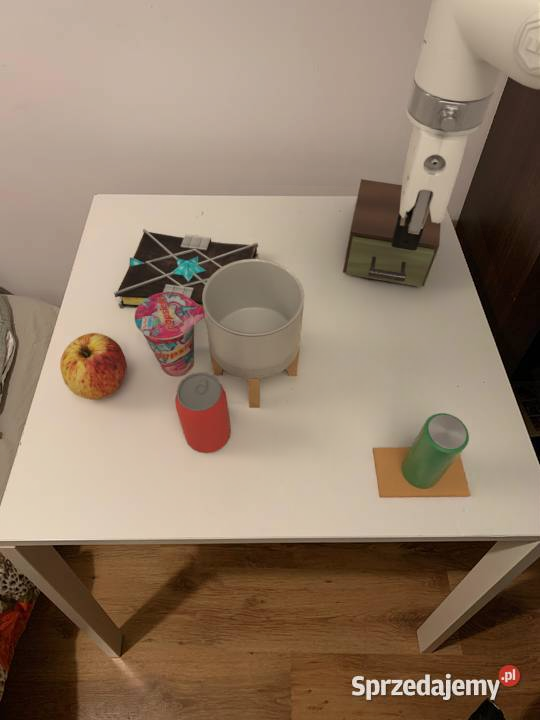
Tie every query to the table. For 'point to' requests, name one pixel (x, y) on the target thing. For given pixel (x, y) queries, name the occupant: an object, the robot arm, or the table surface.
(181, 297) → the cup
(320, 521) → the table surface
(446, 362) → the table surface
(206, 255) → the book
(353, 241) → the drawer
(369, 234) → the cabinet
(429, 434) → the green can
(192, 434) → the beer can
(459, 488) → the mat
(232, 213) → the table surface
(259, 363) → the planter
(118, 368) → the apple
